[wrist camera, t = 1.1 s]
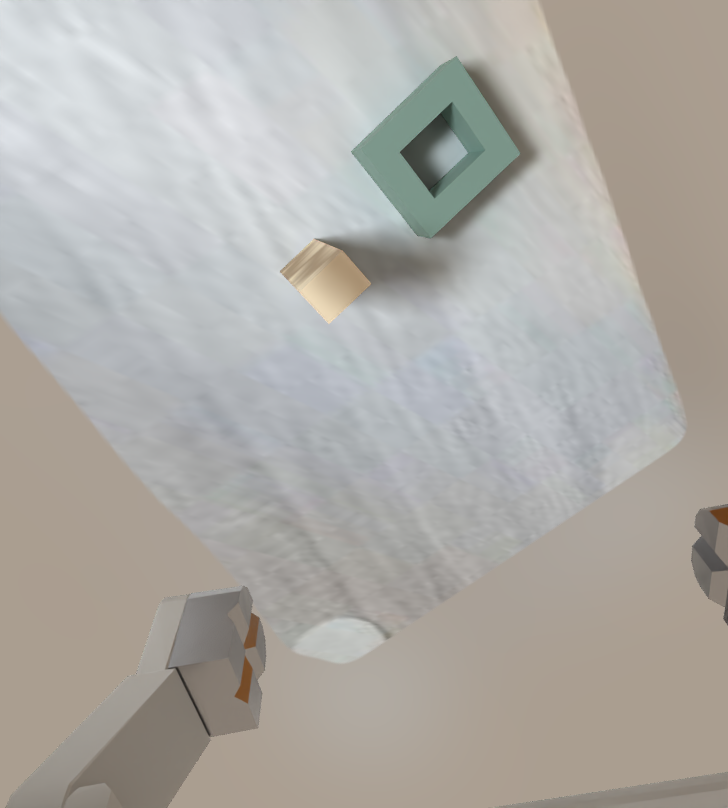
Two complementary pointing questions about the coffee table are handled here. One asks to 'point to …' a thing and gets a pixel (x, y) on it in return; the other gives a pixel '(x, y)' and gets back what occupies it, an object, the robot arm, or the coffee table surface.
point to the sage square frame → (472, 126)
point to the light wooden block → (325, 278)
